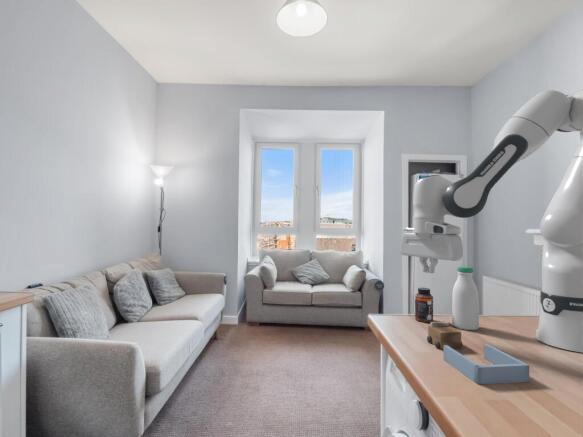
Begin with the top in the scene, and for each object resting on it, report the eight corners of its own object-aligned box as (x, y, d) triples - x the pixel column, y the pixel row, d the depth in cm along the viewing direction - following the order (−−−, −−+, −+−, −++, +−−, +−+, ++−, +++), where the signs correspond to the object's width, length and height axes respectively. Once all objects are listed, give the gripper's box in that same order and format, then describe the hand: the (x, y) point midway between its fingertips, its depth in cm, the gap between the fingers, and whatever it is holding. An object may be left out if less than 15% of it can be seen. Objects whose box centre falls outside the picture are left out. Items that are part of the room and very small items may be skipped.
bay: (487, 357, 78) (487, 343, 78) (529, 381, 66) (529, 365, 66) (443, 359, 76) (443, 345, 76) (477, 384, 64) (477, 367, 65)
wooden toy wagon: (449, 340, 89) (449, 321, 89) (462, 348, 83) (462, 328, 83) (426, 341, 89) (426, 322, 89) (438, 349, 83) (438, 329, 83)
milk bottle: (483, 331, 97) (482, 268, 98) (457, 330, 98) (456, 268, 99) (473, 324, 105) (472, 265, 105) (449, 322, 106) (448, 265, 107)
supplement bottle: (435, 323, 105) (435, 290, 105) (416, 322, 106) (416, 289, 106) (430, 318, 111) (430, 287, 111) (413, 317, 112) (413, 286, 112)
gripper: (395, 227, 103) (395, 268, 102) (451, 228, 84) (451, 278, 84) (409, 227, 105) (409, 267, 105) (466, 228, 87) (466, 276, 87)
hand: (428, 272), depth 94 cm, fingers closed
